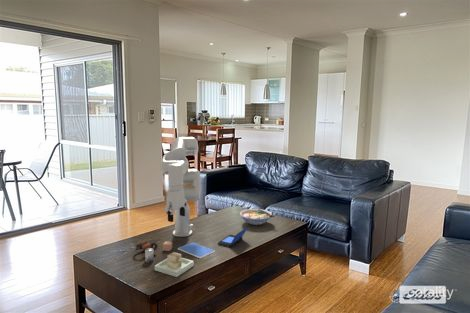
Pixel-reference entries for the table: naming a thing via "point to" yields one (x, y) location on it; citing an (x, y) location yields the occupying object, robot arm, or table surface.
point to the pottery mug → (146, 246)
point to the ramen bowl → (256, 216)
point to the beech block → (174, 260)
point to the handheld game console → (232, 239)
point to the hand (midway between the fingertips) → (176, 218)
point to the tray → (174, 272)
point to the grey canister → (149, 255)
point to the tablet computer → (196, 250)
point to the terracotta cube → (167, 246)
